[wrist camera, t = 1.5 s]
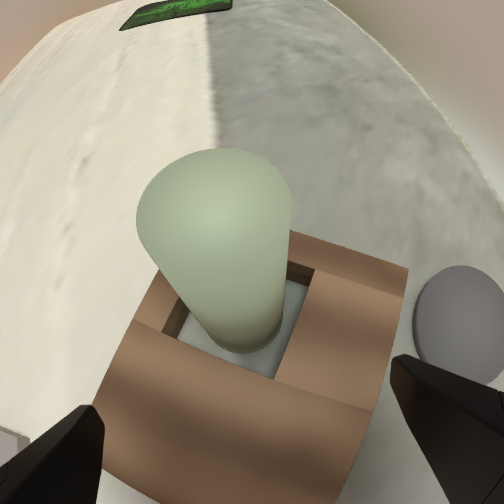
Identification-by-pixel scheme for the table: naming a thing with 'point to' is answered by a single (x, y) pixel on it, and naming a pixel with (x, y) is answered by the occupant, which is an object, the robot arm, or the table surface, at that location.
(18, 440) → the award plaque
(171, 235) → the peg
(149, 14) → the mouse mat
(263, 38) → the table surface
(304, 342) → the puzzle board
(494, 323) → the coaster
